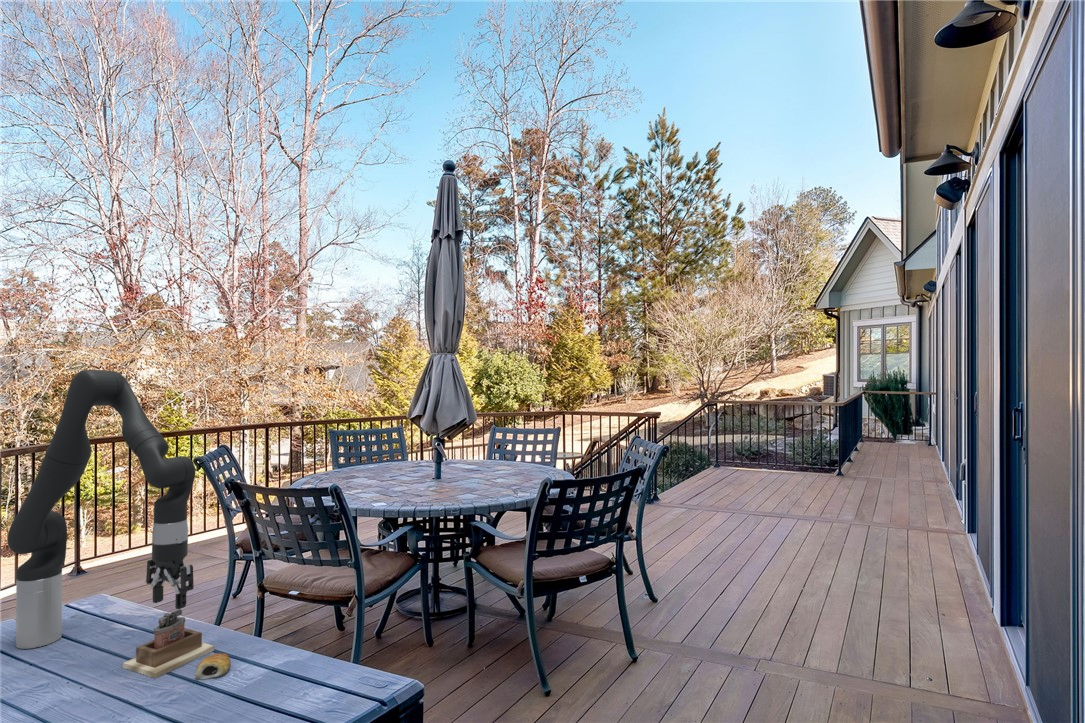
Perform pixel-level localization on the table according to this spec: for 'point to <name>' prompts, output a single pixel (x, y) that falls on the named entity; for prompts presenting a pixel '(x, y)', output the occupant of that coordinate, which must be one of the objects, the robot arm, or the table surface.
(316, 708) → the table surface
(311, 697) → the table surface
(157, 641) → the lighter
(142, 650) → the wooden box with base
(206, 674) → the pastry
